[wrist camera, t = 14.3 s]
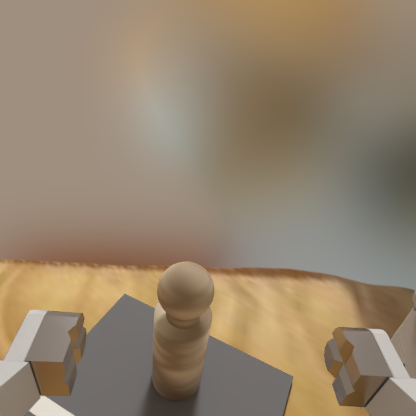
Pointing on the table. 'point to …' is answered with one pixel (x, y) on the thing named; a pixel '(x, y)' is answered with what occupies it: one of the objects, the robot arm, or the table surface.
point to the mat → (142, 375)
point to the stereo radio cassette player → (407, 341)
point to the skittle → (181, 330)
